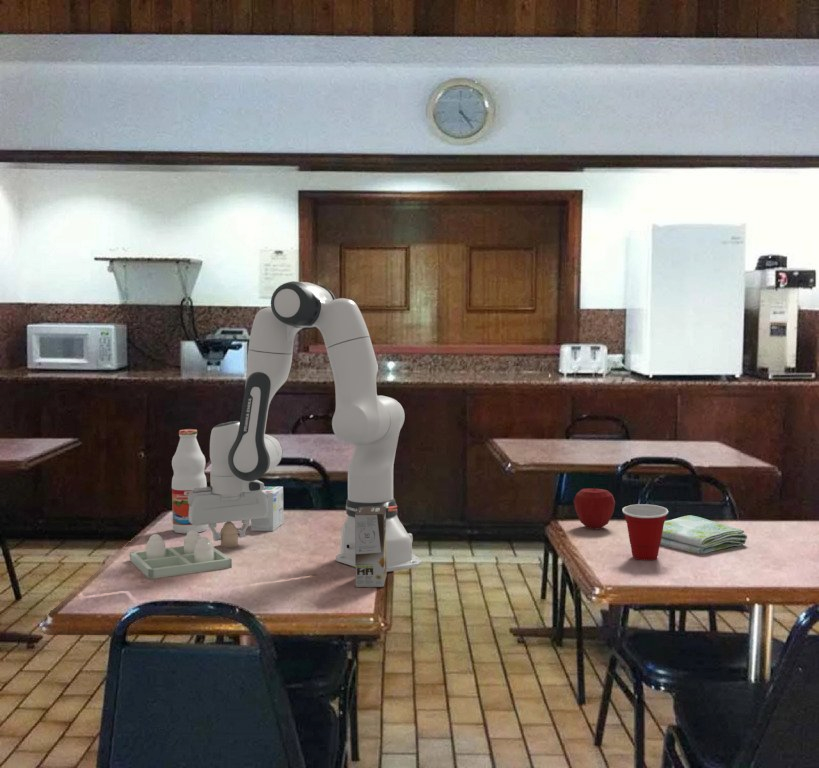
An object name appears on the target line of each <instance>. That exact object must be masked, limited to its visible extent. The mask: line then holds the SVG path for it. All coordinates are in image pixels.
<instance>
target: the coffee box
mask: <svg viewBox="0 0 819 768" xmlns="http://www.w3.org/2000/svg"><path fill="white" fill-rule="evenodd" d="M355 566H356V567H355V587H356V588H384V586H385V583H386V578H387V572H386V507H385V506H368V507H359V508H358V509H357V511H356V513H355Z"/></svg>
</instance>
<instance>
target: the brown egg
mask: <svg viewBox="0 0 819 768" xmlns="http://www.w3.org/2000/svg"><path fill="white" fill-rule="evenodd" d="M238 530H239V529H238V528H237V526H235V523H234V522H233V521H232V522H224V524H223V525H222V528H221V529H220V532H219V533H221V540H220V547H221V548H235V547H238V546H239V537H238Z"/></svg>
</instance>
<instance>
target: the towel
mask: <svg viewBox="0 0 819 768" xmlns="http://www.w3.org/2000/svg"><path fill="white" fill-rule="evenodd" d="M747 539H748V535H747V534H745V531H744V529H742V528H737V527H733V526H729V525H726V524H722V523H719V522H717V521H714V520H709V519H707V518H703V517H700V516H696V515H692V514H691V515H688V514H687V515H684V516H680V517H677V518H673V519H669V520H665V522H664V526H663V532H662V537H661V543H660V545H662V546H664V547H669V548H673V549H677V550H681V551H685V552H688V553H691V554H698V555H700V554H709V553H712V552H715V551H719V550H720V551H721V550H724V549H727V548H730V547H735V546H736V547H742V546H744V545H745V544H746V542H747Z"/></svg>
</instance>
